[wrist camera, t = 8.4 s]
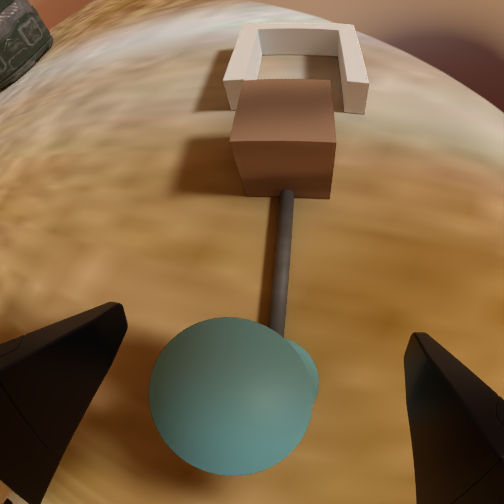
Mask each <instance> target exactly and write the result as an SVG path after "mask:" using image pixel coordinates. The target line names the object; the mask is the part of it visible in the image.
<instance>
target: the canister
mask: <svg viewBox="0 0 504 504" xmlns="http://www.w3.org/2000/svg"><path fill="white" fill-rule="evenodd" d="M52 43H53V38H52V36H51V35H50V32H49V31H48V29H47V27H46V26H45V24H44V22H43V21H42V19H41V18H40V16H39V14H38V13H37V11H36V9H35V8H34V7H33V6H31V5H30V3H29V2H28V0H0V88H3V87H5V86H7V85H8V84H10V83H12V82H15V81H16V80H18V79H19V78H20V77H21V76H22V75H24V74H25V73H26V72H27V71H28V70H29V69H31V68H32V67H33V66H34V65H35V64H36V63H35V62H36V61H37V60H38V59H39V58H40V57H41V56H42V55H43V54H44V53H45V51H46V50H47V51H48V50H49V48H50V47H51V45H52Z"/></svg>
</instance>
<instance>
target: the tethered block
mask: <svg viewBox="0 0 504 504" xmlns="http://www.w3.org/2000/svg"><path fill="white" fill-rule="evenodd" d="M229 142H230V145H231V148H232V152H233V155H234V158H235V161H236V165H237V168H238V171H239V174H240V178H241V181H242V184H243V188H244V191H245V194H246V196H255V197H280V204H279V216H278V228H277V240H276V251H275V262H274V273H273V284H272V294H271V305H270V315H269V325H268V327H267V326H264V325H262V324H260V323H257V322H254V321H251V320H247V319H241V318H232V317H223V318H214V319H209V320H205V321H202V322H199V323H196V324H194V325H192V326H190V327H188V328H186V329H185V330H183V331H182V332H180V333H179V334H177V335H176V336H175V337H174V338H173V339H172V340H171V341H170V342H169V343H168V344H167V345H166V347H165V348H164V349H163V350H162V352H161V354H160V355H159V357H158V359H157V361H156V363H155V365H154V367H153V370H152V373H151V378H150V383H149V406H150V411H151V415H152V418H153V421H154V424H155V426H156V428H157V430H158V432H159V434H160V435H161V437H162V438H163V440H164V442H165V443H166V444H167V445H168V446H169V447H170V449H171V450H172V451H173V452H174V453H176V454H177V455H178V456H179V457H180V458H182V459H183V460H184V461H186V462H187V463H189V464H191V465H192V466H194V467H196V468H198V469H201V470H203V471H206V472H209V473H213V474H217V475H225V476H242V475H249V474H253V473H257V472H260V471H263V470H265V469H268V468H270V467H272V466H274V465H275V464H277V463H279V462H280V461H282V460H283V459H284V458H285V457H287V456H288V455H289V454H290V453H291V452H292V451H293V450H294V449H295V448H296V446H297V445H298V443H299V442H300V441H301V439H302V438H303V436H304V434H305V432H306V430H307V427H308V424H309V421H310V418H311V413H312V407H313V403H314V401H315V399H316V396H317V393H318V387H319V379H318V372H317V369H316V366H315V364H314V362H313V360H312V358H311V357H310V355H309V354H308V353H307V352H306V351H305V350H304V349H303V348H302V347H301V346H299V345H298V344H296V343H294V342H293V341H290V340H288V339H284V327H285V316H286V304H287V292H288V280H289V267H290V253H291V238H292V222H293V205H294V198H318V199H330V192H331V184H332V176H333V168H334V159H335V150H336V132H335V120H334V109H333V98H332V89H331V80H317V79H264V80H243V82H242V86H241V91H240V95H239V100H238V104H237V108H236V113H235V118H234V122H233V127H232V131H231V136H230V141H229Z"/></svg>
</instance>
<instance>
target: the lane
mask: <svg viewBox="0 0 504 504" xmlns="http://www.w3.org/2000/svg"><path fill="white" fill-rule="evenodd" d="M262 55H321V56H338V61H339V68H340V76H341V85H342V93H343V103H344V112H346V113H358V114H364V113H365V107H366V100H367V94H368V87H369V81H368V77H367V72H366V68H365V64H364V60H363V56H362V52H361V49H360V45H359V41H358V38H357V34H356V31H355V28H354V25H349V24H337V23H319V22H267V23H249V24H243V27H242V29H241V32H240V34H239V37H238V40H237V42H236V45H235V48H234V50H233V53H232V56H231V59H230V61H229V64H228V67H227V70H226V73H225V76H224V79H223V83H224V87H225V90H226V94H227V98H228V101H229V105H230V108H231V110H236V108H237V104H238V100H239V95H240V91H241V86H242V82H243V80H257V76H258V72H259V67H260V63H261V58H262Z"/></svg>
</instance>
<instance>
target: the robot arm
mask: <svg viewBox="0 0 504 504" xmlns="http://www.w3.org/2000/svg"><path fill="white" fill-rule="evenodd" d="M127 327H128V324H127V320H126V316H125V312H124V308H123V306H122V304H120V303H116V302H108V303H106V304H103V305H100V306H98V307H95V308H93V309H90V310H87V311H85V312H82V313H80V314H77V315H75V316H72V317H69V318H67V319H64V320H62V321H59V322H57V323H54V324H51V325H49V326H46V327H44V328H41V329H39V330H36V331H34V332H31V333H28V334H26V335H25V336H24V335H23V336H21V337H18V338H16V339H13V340H10V341H7V342H5V343H2V344H0V504H12V502H11V501H10V500H9V499H8V498H7V497H8V496H9V494H10V493H11V491H14V492H15V493H16V494H17V495H19V496H20V497H21V498H22V499H24V500H25V501H26V502H28V503H29V504H41V502H42V499H43V497H44V495H45V493H46V491H47V488H48V486H49V484H50V482H51V480H52V478H53V475H54V473H55V471H56V469H57V467H58V465H59V463H60V462H59V461H61V459H62V456H63V454H64V452H65V450H66V448H67V446H68V444H69V442H70V441H71V439H72V437H73V435H74V433H75V431H76V429H77V427H78V425H79V423H80V421H81V419H82V417H83V416H84V414H85V412H86V410H87V408H88V406H89V404H90V403H91V401H92V399H93V397H94V395H95V393H96V392H97V390H98V388H99V386H100V384H101V383H102V381H103V379H104V377H105V376H106V374H107V372H108V370H109V368H110V366H111V364H112V362H113V360H114V358H115V356H116V353H117V351H118V349H119V347H120V345H121V342H122V340H123V338H124V336H125V334H126V331H127ZM404 370H405V386H406V404H407V412H408V418H409V425H410V433H411V441H412V450H413V459H414V470H415V483H416V501H417V504H504V400H503V399H502V398H501V397H500V396H498V394H497V393H495V392H494V391H493V390H492V389H491V388H490V387H489V386H488V385H486V384H485V383H484V382H483V381H482V380H481V379H480V378H479V377H477V376H476V375H475V374H474V373H473V372H472V371H470V370H469V369H468V368H467V367H466V366H465V365H464V364H462V363H461V362H460V361H459V360H458V359H457V358H455V357H454V356H453V355H452V354H451V353H449V352H448V351H447V350H446V349H445V348H444V347H442V346H441V345H440V344H439V343H438V342H436V341H435V340H434V339H433V338H432V337H430V336H429V335H428V334H427V333H424V332H414V333H413V334H412V335H411V337H410V340H409V343H408V346H407V349H406V351H405V355H404Z"/></svg>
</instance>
